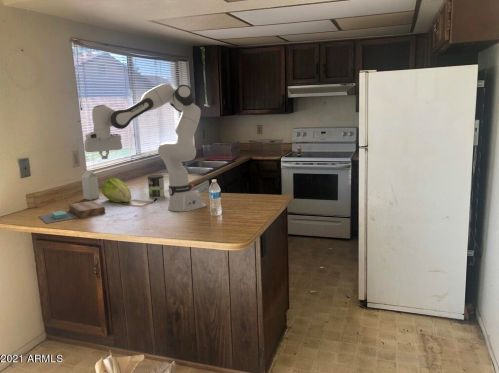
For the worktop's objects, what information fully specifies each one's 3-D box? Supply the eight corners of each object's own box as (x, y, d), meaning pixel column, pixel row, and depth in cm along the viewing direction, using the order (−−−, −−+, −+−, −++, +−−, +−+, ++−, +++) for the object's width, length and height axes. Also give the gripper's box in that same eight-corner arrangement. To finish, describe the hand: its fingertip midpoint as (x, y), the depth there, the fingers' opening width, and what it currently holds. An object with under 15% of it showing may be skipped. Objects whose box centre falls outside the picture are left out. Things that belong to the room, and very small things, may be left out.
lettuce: (139, 208, 274) (116, 215, 264) (121, 190, 289) (99, 197, 279) (138, 188, 266) (114, 196, 257) (120, 172, 281) (97, 178, 272)
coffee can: (153, 199, 277) (151, 177, 274) (146, 196, 285) (145, 176, 282) (167, 196, 283) (166, 175, 280) (160, 194, 291) (159, 174, 288)
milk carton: (90, 200, 280) (87, 171, 276) (83, 199, 284) (80, 171, 280) (99, 197, 286) (96, 170, 282) (92, 196, 290) (90, 169, 286)
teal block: (51, 212, 239) (52, 215, 240) (55, 215, 232) (55, 219, 233) (62, 210, 243) (63, 214, 243) (67, 213, 236) (67, 217, 236)
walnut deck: (93, 207, 260) (92, 200, 259) (105, 213, 242) (104, 206, 241) (69, 211, 251) (68, 204, 251) (80, 218, 234) (79, 211, 233)
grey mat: (68, 211, 250) (68, 211, 250) (77, 218, 234) (77, 217, 234) (38, 216, 241) (38, 216, 241) (46, 223, 225) (46, 223, 225)
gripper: (118, 133, 245) (120, 156, 247) (82, 135, 233) (84, 160, 235) (122, 133, 240) (124, 157, 242) (85, 135, 228) (88, 161, 230)
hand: (104, 159), depth 239 cm, fingers closed
